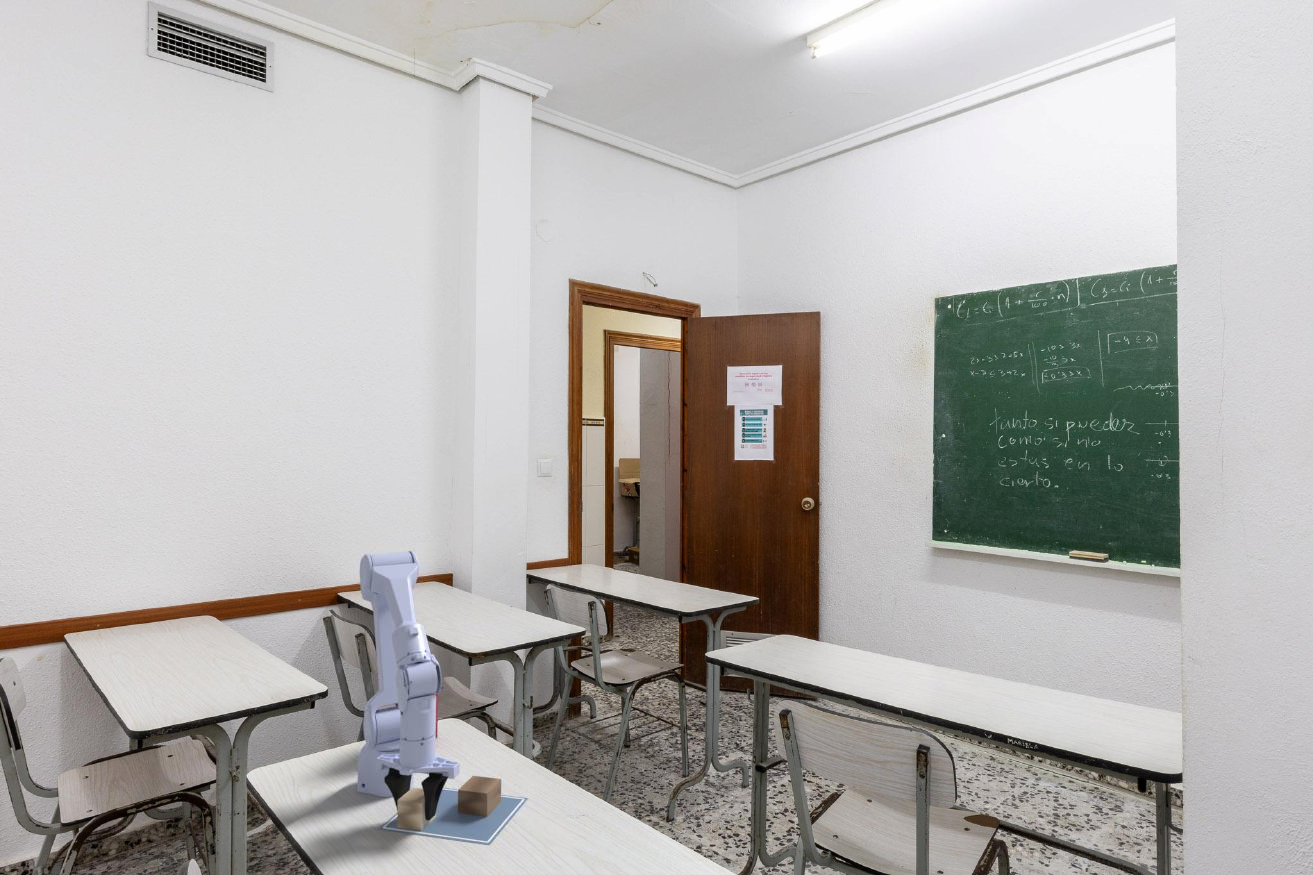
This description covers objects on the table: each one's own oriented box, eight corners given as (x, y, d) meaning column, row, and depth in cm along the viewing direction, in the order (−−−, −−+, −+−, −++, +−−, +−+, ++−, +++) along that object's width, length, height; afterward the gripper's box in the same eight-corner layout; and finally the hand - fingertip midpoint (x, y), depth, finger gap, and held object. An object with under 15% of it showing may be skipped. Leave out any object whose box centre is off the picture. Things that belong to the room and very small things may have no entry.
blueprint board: (378, 833, 117) (378, 828, 117) (428, 790, 133) (428, 785, 133) (489, 849, 113) (489, 844, 113) (528, 802, 128) (528, 797, 128)
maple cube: (397, 827, 118) (397, 799, 118) (412, 813, 122) (412, 787, 122) (421, 830, 117) (422, 803, 117) (435, 816, 121) (436, 790, 121)
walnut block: (457, 813, 123) (458, 789, 123) (472, 797, 128) (473, 775, 128) (487, 816, 121) (487, 793, 122) (501, 801, 127) (501, 778, 127)
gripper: (365, 739, 118) (364, 822, 117) (444, 748, 114) (443, 833, 114) (390, 723, 125) (389, 801, 124) (465, 731, 121) (465, 811, 121)
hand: (416, 815), depth 120 cm, fingers closed on maple cube, 4 cm apart
